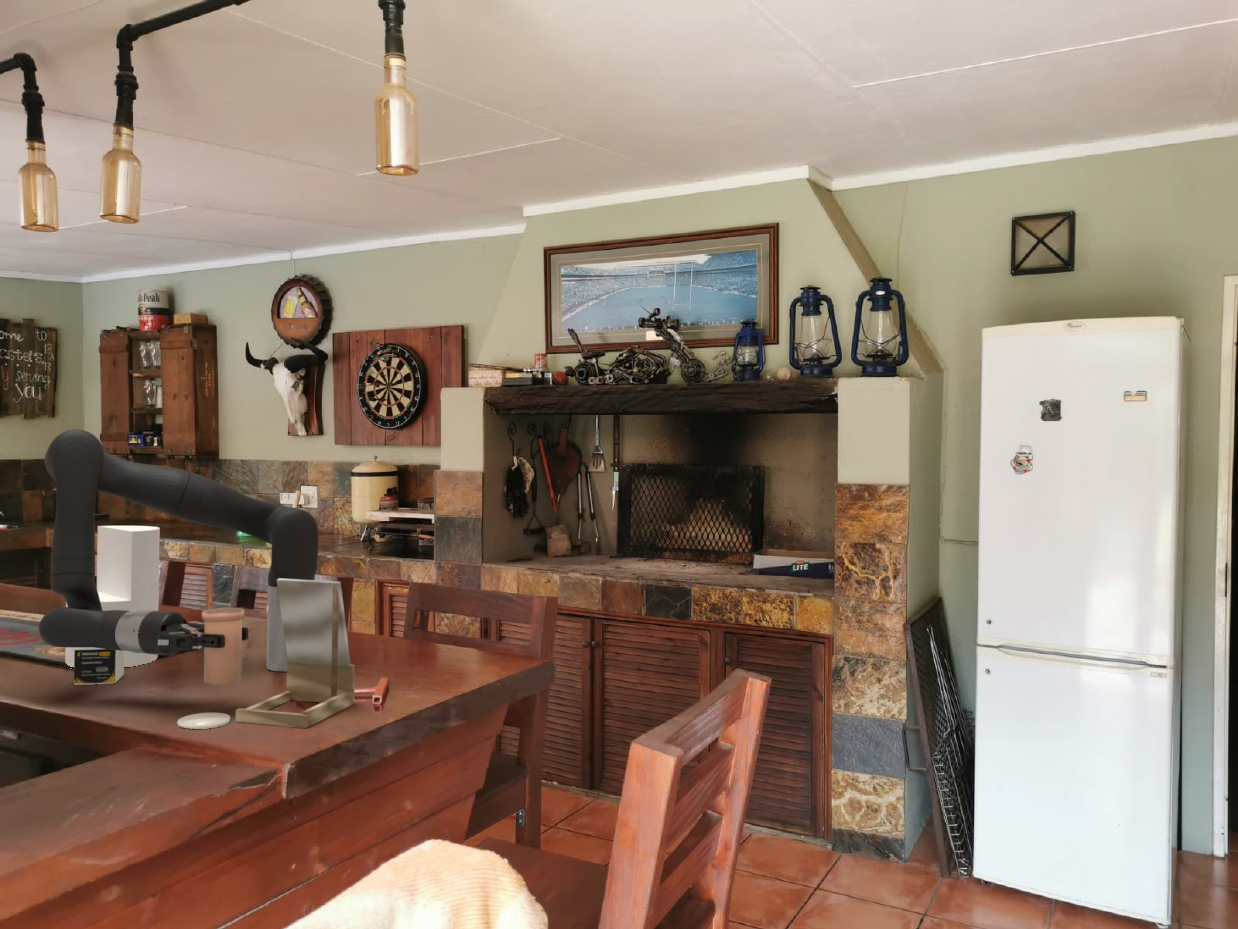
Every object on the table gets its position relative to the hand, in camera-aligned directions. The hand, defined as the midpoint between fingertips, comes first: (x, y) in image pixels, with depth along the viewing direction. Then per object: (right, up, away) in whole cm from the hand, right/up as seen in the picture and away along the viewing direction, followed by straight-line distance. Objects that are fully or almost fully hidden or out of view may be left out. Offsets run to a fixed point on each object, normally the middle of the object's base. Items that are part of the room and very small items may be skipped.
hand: (235, 637), depth 163 cm
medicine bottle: (-34, -12, +20) cm, 42 cm away
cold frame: (+10, -13, +1) cm, 17 cm away
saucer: (-2, -13, -7) cm, 15 cm away
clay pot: (-2, -7, +1) cm, 8 cm away
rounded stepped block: (-41, -12, +37) cm, 56 cm away
